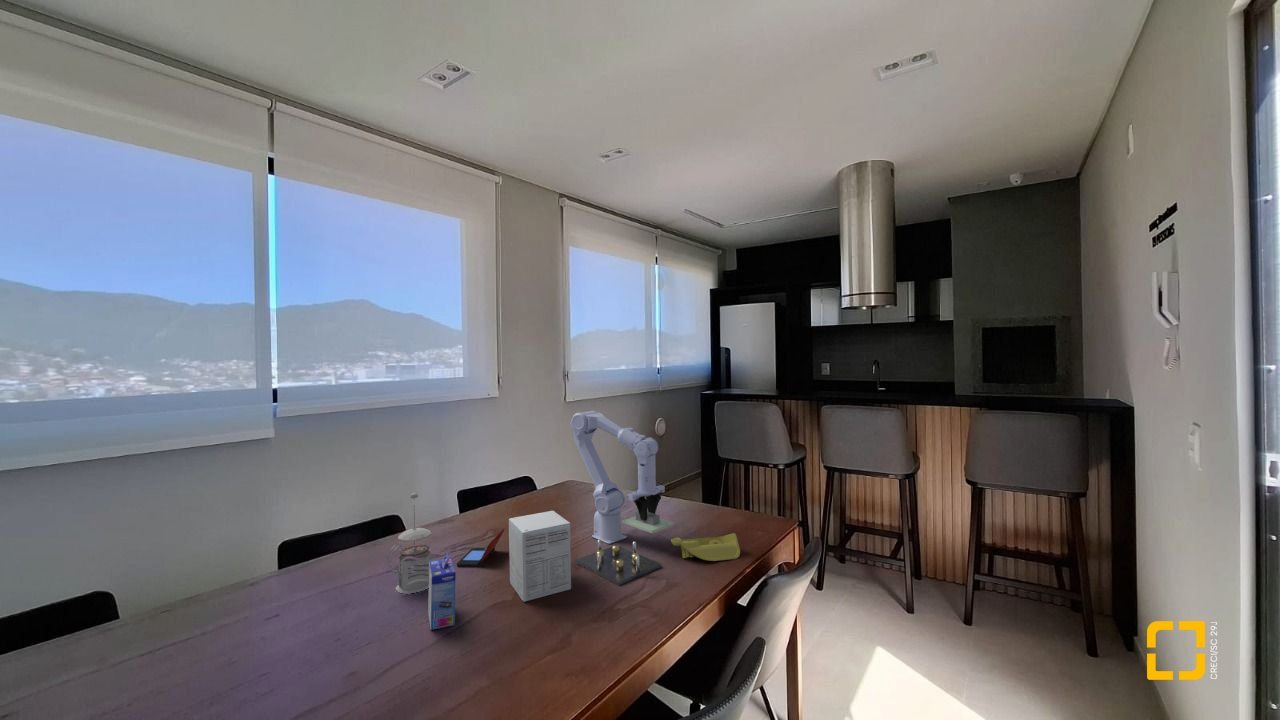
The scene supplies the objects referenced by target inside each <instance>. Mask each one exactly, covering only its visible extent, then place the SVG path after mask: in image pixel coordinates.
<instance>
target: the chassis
mask: <svg viewBox="0 0 1280 720" xmlns="http://www.w3.org/2000/svg"><path fill="white" fill-rule="evenodd" d="M576 563H577V564H576ZM575 564H576V565H578V564H579V565H578V566H580V565H581V566H580V567H582V568H584V567H585V568H584V569H586V570H587V571H590V572H591V573H594V574H596V575H597V574H598V576H599V575H600V576H599V577H601V576H602V577H601V578H603V577H604V580H605V579H606V580H607V581H609V582H611V583H613V584H615V585H617V586H621V585H624V584H627V583H628V582H631V581H633V580H635V579H637V578H639V577H640V578H641V577H642V576H644V575H647V574H649V573H651V572H654V571H656V570H658V569H660V568H662V563H660V562H658V561H656V560H654V559H651V558H648V557H646V556H644V555H641V554H639V553H637V541H635V540H634V541H632V551H631V550H629V549H628V548H624V547H622V546H620V545H619V544H613V545H612V546H611V547H608V548H605V549H602V541H601V540H598V539H597V551H596V552H593V553H591V554H588V555H585V556H583V557H580V558H577V559H575Z"/></svg>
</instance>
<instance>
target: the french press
mask: <svg viewBox="0 0 1280 720" xmlns="http://www.w3.org/2000/svg"><path fill="white" fill-rule="evenodd" d="M409 497H410V499H417V498H418V497H419V495H418V493H417V492H413V493H411V494H410V495H409ZM415 507H416V506H413V527H412V528H410V529H407V530H405V531H403V532H402V533H401V534H399V535H398V536H397V539H398V540H399V541H400V542H404V543H405V542H407V543H408V542H413V545H409V546H408V547H404V548H402V545H401V544H399V543H396V544H395V545H393V546H392V547H391V548H390V549H389V551H388V554H387V556H386V563H387V567H388V568H389V569H390V570H391V571H392V572H394V573H395V574H398V578H397V579H398V585H397V586H396V587H395V589H396V590H397V591H398V592H400V593H415V592H419V591H423V590H425V589H427V588H429V562H430V561H431V551H430V550H429V549H430V546H429V545H426V544H416V541H421V540H423V539H427V538H428V537H430V535H431V533H432V532H431V531H430V530H429V529H428V528H423V527H416V522H415V519H416V518H415V515H416V514H415V513H416V512H415ZM395 546H397V547H395ZM397 549H398V550H399V551H400V552H399V554H400V556H398V570H396V569H394V568H393V567H392V564H391V562H392V561H391V559H392V557H393V554H394V552H395V551H396V550H397ZM391 551H392V552H391ZM390 553H391V554H390ZM389 556H390V557H389ZM406 557H413V558H406ZM414 558H418V559H414ZM419 558H420V559H419ZM403 559H404V560H403ZM427 590H428V589H427ZM425 591H426V590H425ZM423 592H424V591H423ZM419 593H420V592H419ZM415 594H416V593H415Z"/></svg>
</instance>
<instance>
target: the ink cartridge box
mask: <svg viewBox="0 0 1280 720" xmlns="http://www.w3.org/2000/svg"><path fill="white" fill-rule="evenodd" d="M456 572H457V571H456V569H455V566H454V562H453V559H452V557H450V554H449V552H447V553H446V554H445V556H444V557H443V558H442V559H436V560H430V562H429V589H428V596H427V597H428V600H427V602H428V603H427V605H428V606H427V607H428V610H427V612H428V613H427V615H428V620H429V628H430V631H433V630H437V629H443V628H448V627H453V626H455V625H456V579H457V578H456V576H457V575H456V574H457V573H456Z"/></svg>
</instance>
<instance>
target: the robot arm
mask: <svg viewBox="0 0 1280 720" xmlns="http://www.w3.org/2000/svg"><path fill="white" fill-rule="evenodd" d="M569 425H570V427H571V429H572V431H573V438H574V443H575V445H576V448H577V450H578V453H579V455H580V457H581V459H582V462H583V463H584V465H585V468H586V470H587V473H588V474H589V477H590V479H591V481H592V484H593V485H594V492H593V493H592V497H593V499H594V506H595V508H596V509H595V510H596V511H595V513H594V516H593V534H592V535H591V537H592V538H594V539H596V540H597V541H598V540H601V542H603V543H605V544H608V545H611V544H613V543H615V542H618V541H621V540H622V541H623V540H624V539H627V535H624V534H622V507H623V506H624V504H625V501H626V500H625V499H626V498H625V497H626V496H625V495H624V492H623V491H622V490H620V488H619V487H618V485H617V484H616V483H615V482H613V481H611V480H610V478H609V475H608V473H607V471H606V468H605V467H604V464H603V462H602V461H601V458H600V456H599V453H598V452H597V449H596V447H595V445H594V443H593V441H592V439H593V436H594V435H595V433H596V432H597V430H598V429H600V430H602V431H604V432H606V433H608V434H610V435H612V436H613V437H615V438H617V440H618V443H619V444H621V445H622V446H625V448H628V449H629V450H631V451H633V453H634V455H635V456H636V460H637V488H638V489H636V490H635V491H633V492H631V493H628V495H627V497H628V501H630V502H634V504H635V505H636V508H637V511H639V514H640V518H641V520H644V521H646V520H647V512H650V513H654V514H656V511H657V509H658V505H659V503H660V500H661V499H662V495H661V494H660V493H665V492H666V491H665V489H666V488H665V486H664V485H657V481H656V469H657V468H656V454H657V453H658V451H659V444H658V442H657V441H656V439H655V438H653V437H646V435H645V434H640V433H639V432H636V431H635V428H633V427H624V428H623V427H621V426H619V425H617V424H616V423H615V422H613V421H612V420H610V419H608V418H607V417H606V416H604V414H603V413H601V412H598V411H597V410H590V411H583V412H576V413H574V415H573V416H572V418H571V421H570V423H569Z"/></svg>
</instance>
